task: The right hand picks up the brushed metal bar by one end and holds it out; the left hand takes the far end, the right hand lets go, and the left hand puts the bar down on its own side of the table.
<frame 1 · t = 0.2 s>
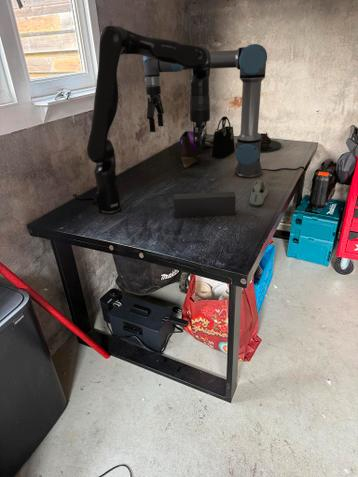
left hand: (200, 150, 131), 29 cm above the table, tool pointing down, fingers open, 8 cm apart
right hand: (156, 129, 177), 28 cm above the table, tool pointing down, fingers open, 13 cm apart
handbag: (223, 154, 226), on the table
boot: (189, 162, 214), on the table
pair of gloves: (209, 143, 254), on the table
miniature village: (256, 146, 240), on the table
ballet flat: (258, 197, 160), on the table
bar: (204, 213, 148), on the table
decorative orb: (190, 153, 234), on the table
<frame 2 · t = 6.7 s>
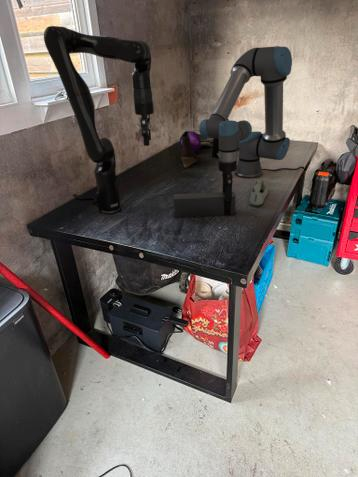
left hand: (147, 142, 135), 32 cm above the table, tool pointing down, fingers open, 8 cm apart
right hand: (226, 211, 147), 1 cm above the table, tool pointing down, fingers closed on bar, 5 cm apart
bar: (204, 213, 148), on the table, touching right hand
everything else where it was.
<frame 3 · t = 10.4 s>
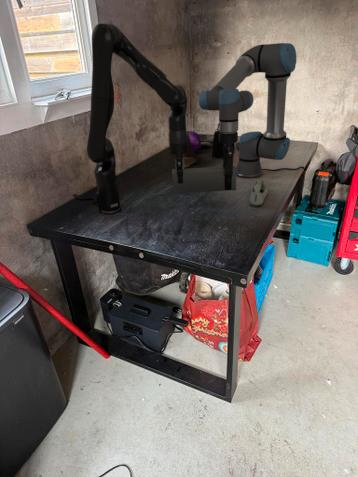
left hand: (180, 180, 140), 16 cm above the table, tool pointing down, fingers closed on bar, 5 cm apart
right hand: (227, 187, 141), 12 cm above the table, tool pointing down, fingers closed on bar, 5 cm apart
bar: (204, 189, 142), point 12 cm above the table, touching right hand, left hand
everything else where it was.
when the right hand's fingers open (12 cm above the table, at t = 11.4 s): bar stays where it is, held by the left hand.
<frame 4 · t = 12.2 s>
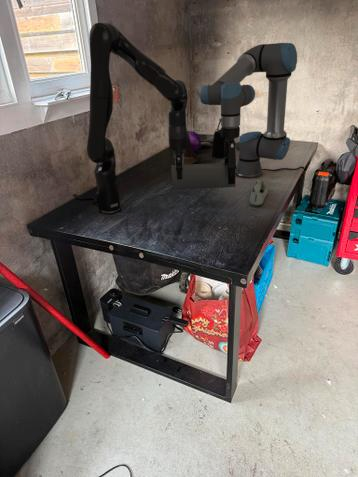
left hand: (179, 176, 139), 18 cm above the table, tool pointing down, fingers closed on bar, 5 cm apart
right hand: (229, 178, 140), 16 cm above the table, tool pointing down, fingers open, 13 cm apart
bar: (203, 186, 141), point 13 cm above the table, touching left hand
everything else where it was.
when the left hand's fingers open (6 cm above the table, at t = 18.5 s): bar stays where it is, on the table.
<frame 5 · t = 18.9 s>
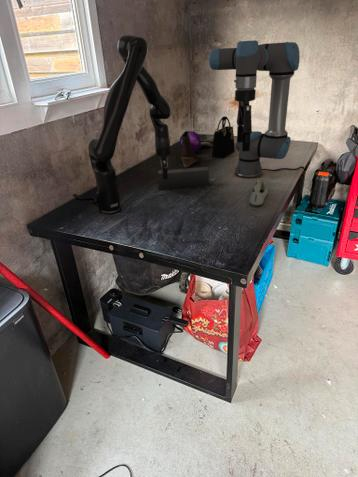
left hand: (164, 176, 175), 7 cm above the table, tool pointing down, fingers open, 8 cm apart
right hand: (242, 146, 133), 29 cm above the table, tool pointing down, fingers open, 13 cm apart
bar: (183, 186, 179), on the table
everything else where it was.
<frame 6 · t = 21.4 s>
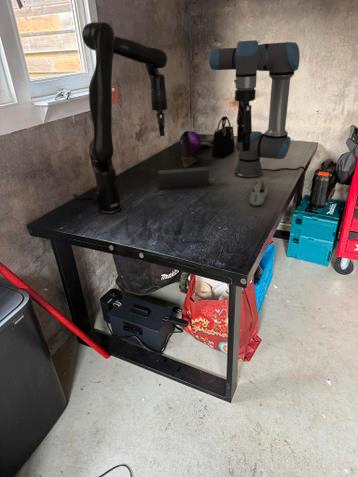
left hand: (161, 133, 164), 28 cm above the table, tool pointing down, fingers open, 8 cm apart
right hand: (242, 146, 133), 29 cm above the table, tool pointing down, fingers open, 13 cm apart
nothing on the table moved.
at the end: bar inside the target area (9.8 cm from its centre), on the table; the left hand is holding nothing; the right hand is holding nothing; bar at rest at the end (0.0 cm/s) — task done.
